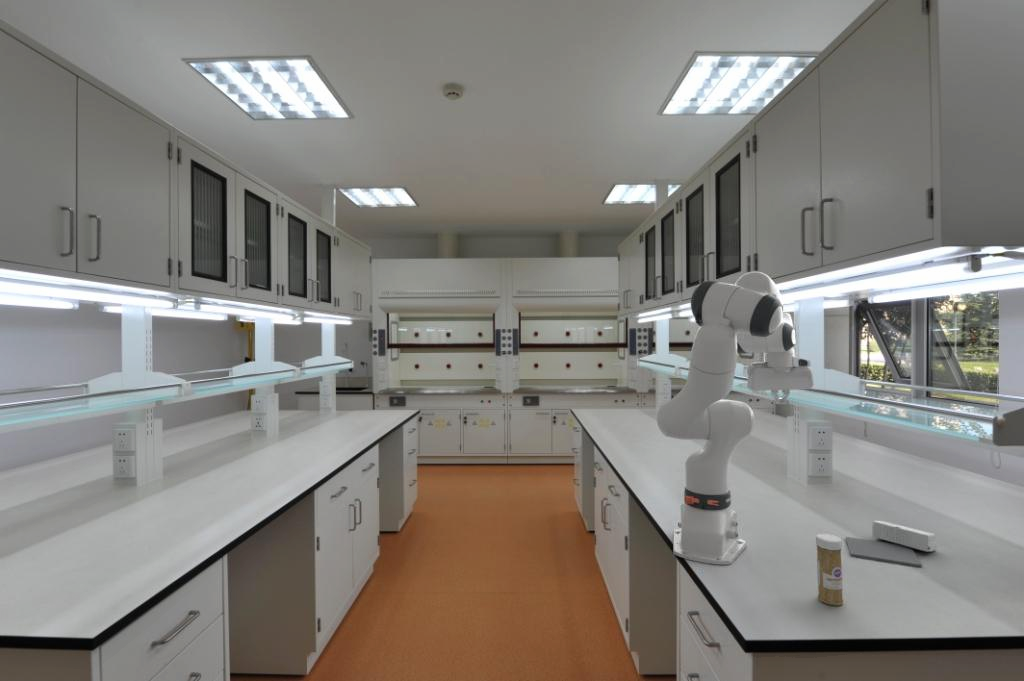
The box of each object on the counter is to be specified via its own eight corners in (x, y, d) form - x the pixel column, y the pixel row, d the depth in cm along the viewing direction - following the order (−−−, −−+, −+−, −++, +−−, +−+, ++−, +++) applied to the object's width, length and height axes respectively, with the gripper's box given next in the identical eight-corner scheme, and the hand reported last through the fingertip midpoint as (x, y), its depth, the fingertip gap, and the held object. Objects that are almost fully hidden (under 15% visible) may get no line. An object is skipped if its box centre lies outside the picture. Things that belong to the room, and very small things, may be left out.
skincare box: (880, 520, 135) (936, 532, 125) (880, 536, 134) (936, 550, 124) (871, 521, 132) (928, 533, 122) (871, 538, 131) (928, 552, 121)
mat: (921, 567, 116) (921, 564, 116) (850, 556, 123) (850, 553, 123) (910, 548, 126) (910, 546, 126) (845, 538, 133) (845, 536, 133)
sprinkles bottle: (834, 608, 99) (832, 542, 99) (812, 598, 103) (810, 535, 103) (848, 603, 101) (846, 538, 101) (826, 593, 105) (824, 531, 105)
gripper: (752, 362, 156) (753, 405, 156) (815, 361, 156) (817, 404, 156) (743, 362, 162) (744, 403, 162) (803, 360, 162) (805, 401, 162)
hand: (780, 403), depth 159 cm, fingers closed
